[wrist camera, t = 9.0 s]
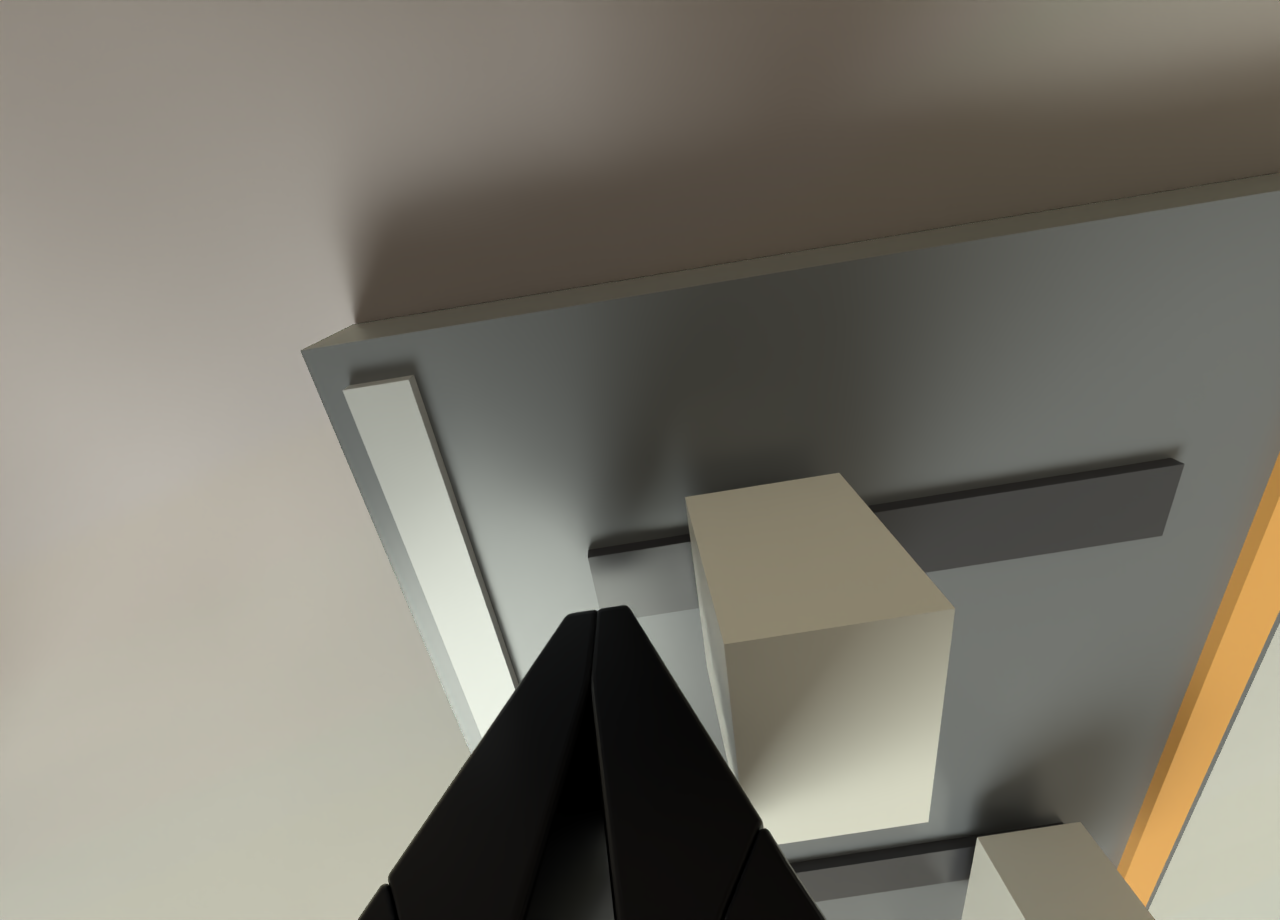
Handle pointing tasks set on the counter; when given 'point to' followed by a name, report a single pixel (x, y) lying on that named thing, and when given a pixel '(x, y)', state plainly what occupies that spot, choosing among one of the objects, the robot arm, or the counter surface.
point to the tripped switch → (820, 656)
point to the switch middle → (1047, 878)
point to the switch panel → (881, 492)
